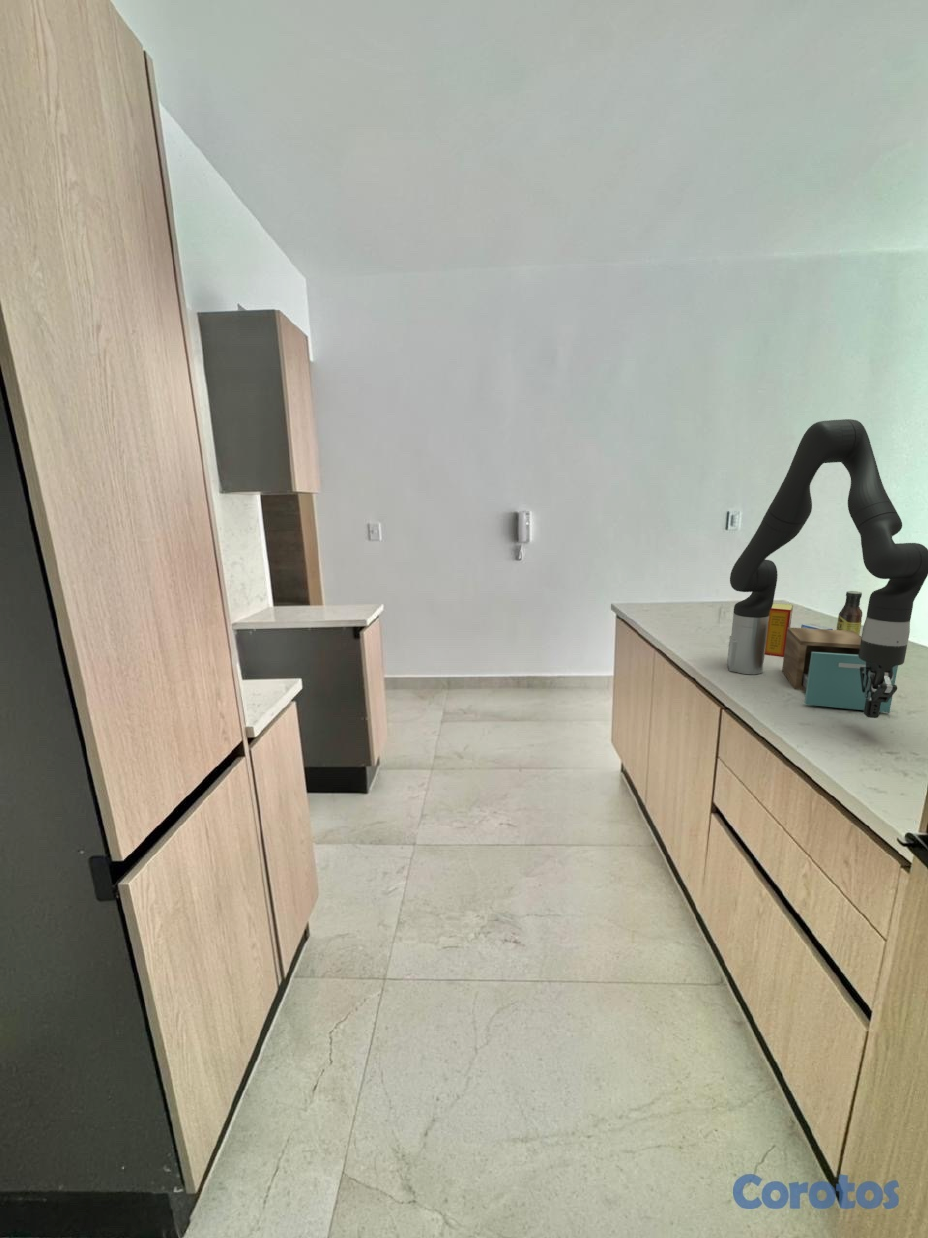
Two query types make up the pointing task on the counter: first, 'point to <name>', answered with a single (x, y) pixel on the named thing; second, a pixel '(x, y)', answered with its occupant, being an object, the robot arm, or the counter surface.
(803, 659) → the cabinet
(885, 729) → the counter surface
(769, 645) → the baking soda box
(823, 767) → the counter surface
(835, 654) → the drawer
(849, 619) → the sauce bottle
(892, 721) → the counter surface
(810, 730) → the counter surface
